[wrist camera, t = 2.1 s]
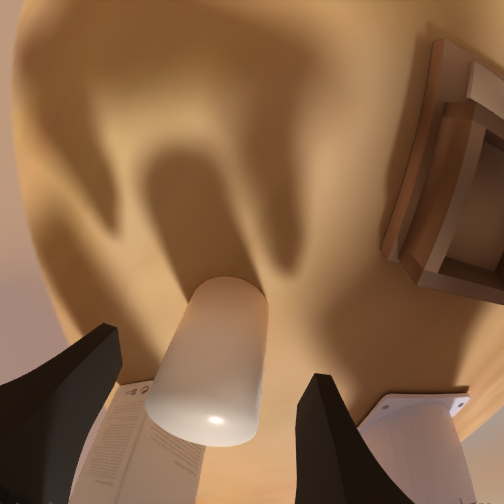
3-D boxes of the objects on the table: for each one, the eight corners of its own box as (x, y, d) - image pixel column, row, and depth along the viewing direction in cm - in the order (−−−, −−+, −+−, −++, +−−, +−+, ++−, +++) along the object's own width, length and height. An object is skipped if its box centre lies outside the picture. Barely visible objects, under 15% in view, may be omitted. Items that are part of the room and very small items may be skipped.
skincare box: (116, 384, 17) (49, 528, 6) (162, 375, 16) (94, 555, 5) (170, 431, 19) (130, 561, 9) (216, 427, 18) (184, 578, 7)
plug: (259, 346, 14) (246, 453, 9) (188, 329, 14) (149, 429, 9) (277, 286, 12) (270, 403, 7) (194, 268, 13) (140, 372, 7)
